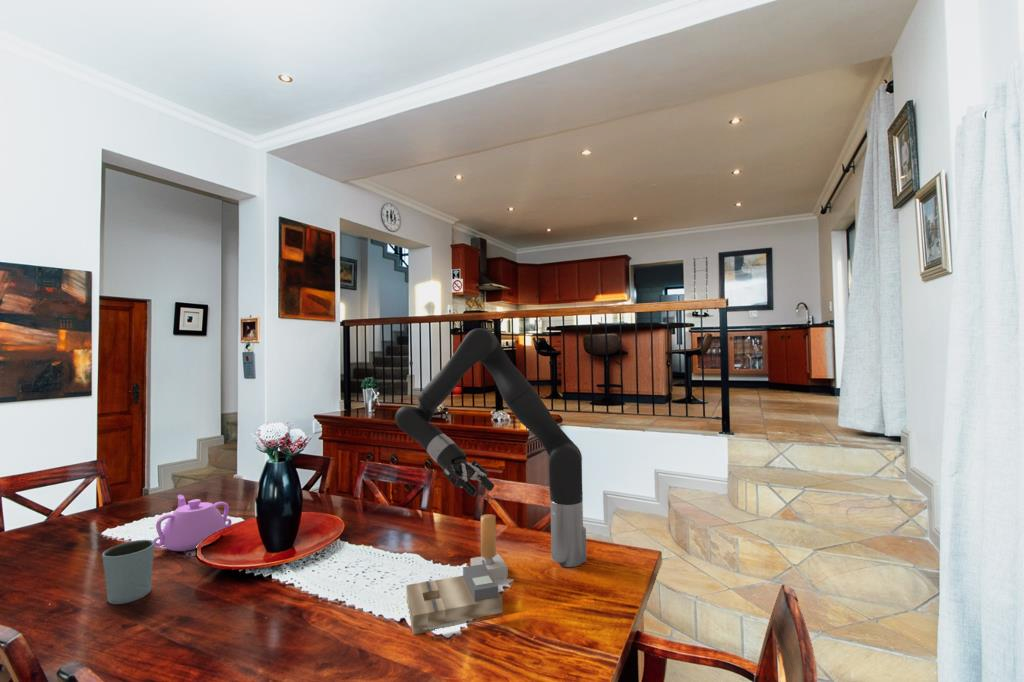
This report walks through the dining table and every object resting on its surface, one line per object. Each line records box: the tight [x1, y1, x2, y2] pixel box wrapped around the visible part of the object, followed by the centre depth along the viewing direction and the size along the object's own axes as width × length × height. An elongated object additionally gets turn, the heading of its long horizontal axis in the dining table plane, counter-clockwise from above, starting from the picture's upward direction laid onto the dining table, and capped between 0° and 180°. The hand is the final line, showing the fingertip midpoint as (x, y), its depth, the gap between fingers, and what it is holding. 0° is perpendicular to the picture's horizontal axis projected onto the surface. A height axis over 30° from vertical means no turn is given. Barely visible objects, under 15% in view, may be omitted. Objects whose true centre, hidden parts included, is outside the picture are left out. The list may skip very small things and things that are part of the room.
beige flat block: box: [406, 575, 504, 635], centre depth 109 cm, size 20×14×4 cm
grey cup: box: [101, 539, 155, 605], centre depth 118 cm, size 10×10×12 cm
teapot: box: [152, 494, 233, 552], centre depth 151 cm, size 22×22×14 cm
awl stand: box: [470, 553, 509, 581], centre depth 124 cm, size 8×8×4 cm
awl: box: [480, 513, 497, 566], centre depth 125 cm, size 4×4×15 cm
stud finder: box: [462, 564, 499, 601], centre depth 111 cm, size 6×12×3 cm, turn 18°
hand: (484, 491), depth 127 cm, fingers open, 8 cm apart
